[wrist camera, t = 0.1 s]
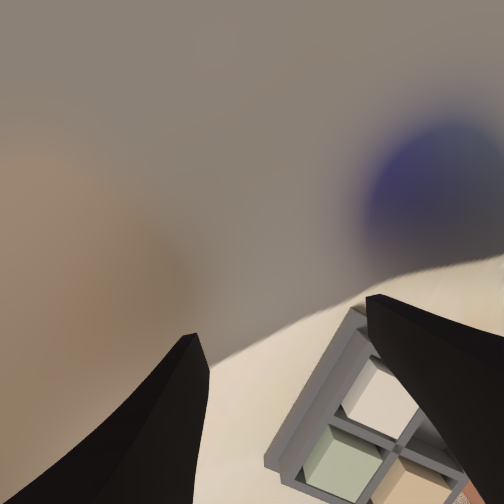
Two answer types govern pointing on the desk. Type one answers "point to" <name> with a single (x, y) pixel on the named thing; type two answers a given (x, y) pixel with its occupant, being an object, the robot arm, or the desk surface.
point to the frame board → (362, 433)
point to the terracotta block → (472, 494)
